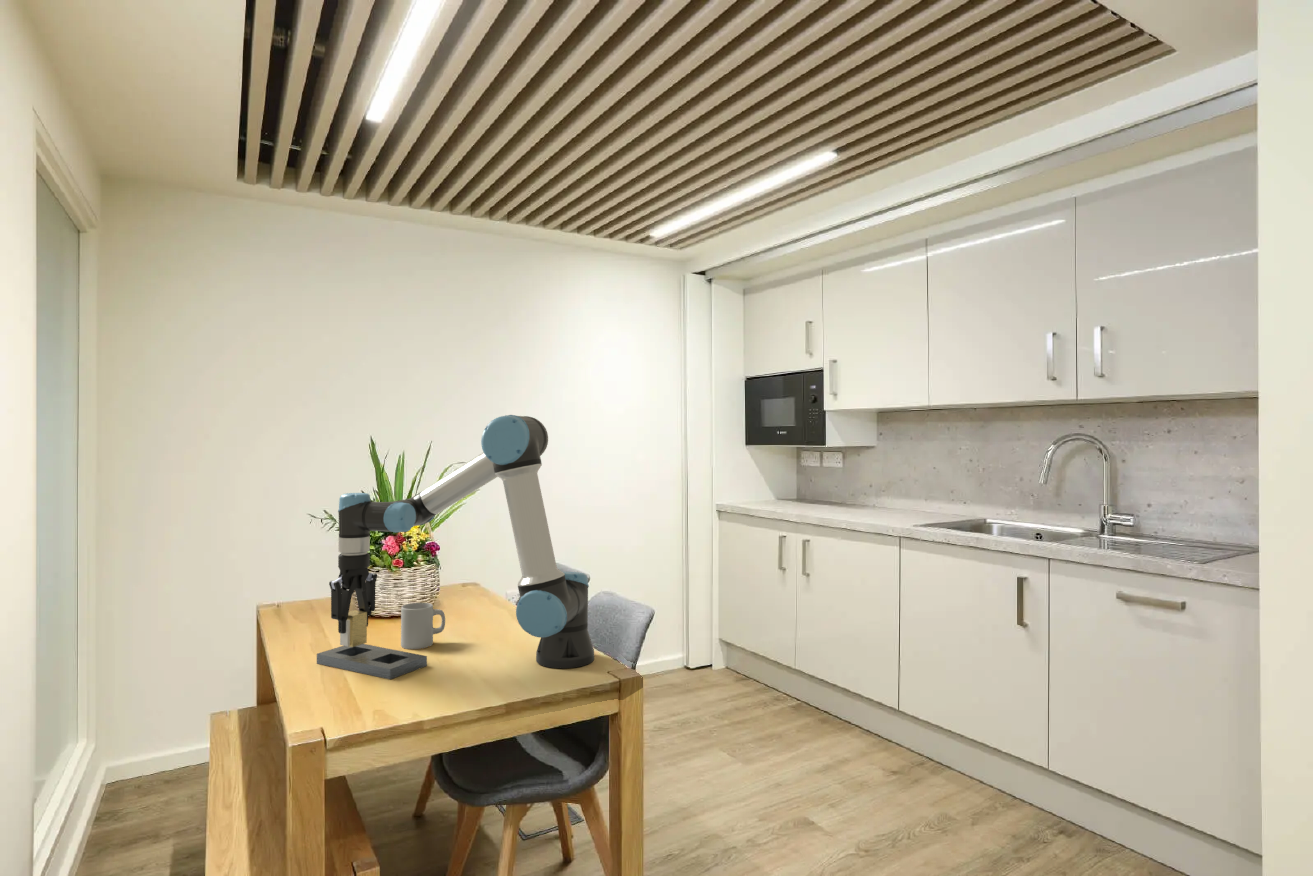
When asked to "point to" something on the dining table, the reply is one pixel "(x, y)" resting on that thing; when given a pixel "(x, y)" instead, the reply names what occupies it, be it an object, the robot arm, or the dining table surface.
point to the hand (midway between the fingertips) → (353, 642)
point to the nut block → (357, 627)
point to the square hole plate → (372, 660)
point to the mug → (419, 625)
